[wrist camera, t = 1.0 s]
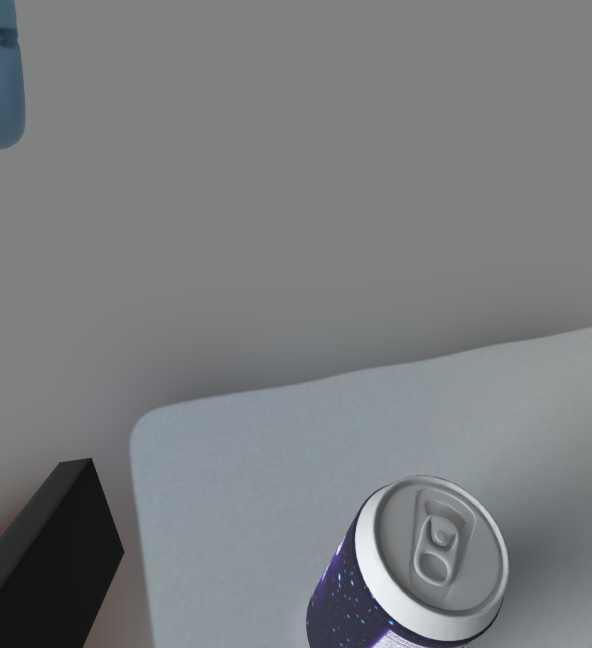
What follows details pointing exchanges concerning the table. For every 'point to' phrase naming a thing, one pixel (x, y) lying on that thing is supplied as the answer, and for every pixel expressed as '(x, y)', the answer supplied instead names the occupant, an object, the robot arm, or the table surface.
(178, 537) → the table surface
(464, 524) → the beverage can
